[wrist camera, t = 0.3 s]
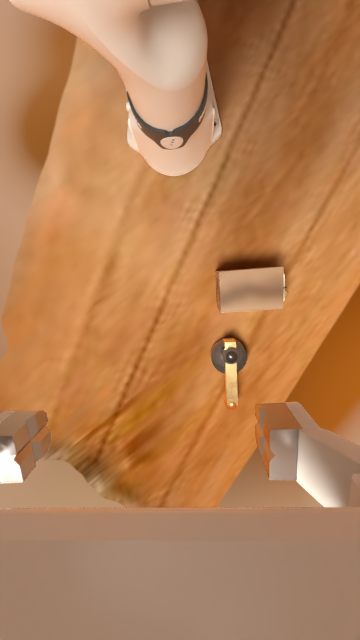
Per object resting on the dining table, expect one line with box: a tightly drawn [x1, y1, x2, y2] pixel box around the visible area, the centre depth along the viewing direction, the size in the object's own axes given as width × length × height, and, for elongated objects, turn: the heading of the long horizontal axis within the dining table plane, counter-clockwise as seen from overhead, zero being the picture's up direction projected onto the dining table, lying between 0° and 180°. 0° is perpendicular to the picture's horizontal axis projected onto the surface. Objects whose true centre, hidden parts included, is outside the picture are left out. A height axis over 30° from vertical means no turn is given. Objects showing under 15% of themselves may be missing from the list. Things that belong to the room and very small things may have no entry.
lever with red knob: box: [211, 338, 247, 410], centre depth 55 cm, size 17×8×6 cm, turn 4°
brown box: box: [215, 267, 288, 313], centre depth 50 cm, size 8×14×8 cm, turn 94°
